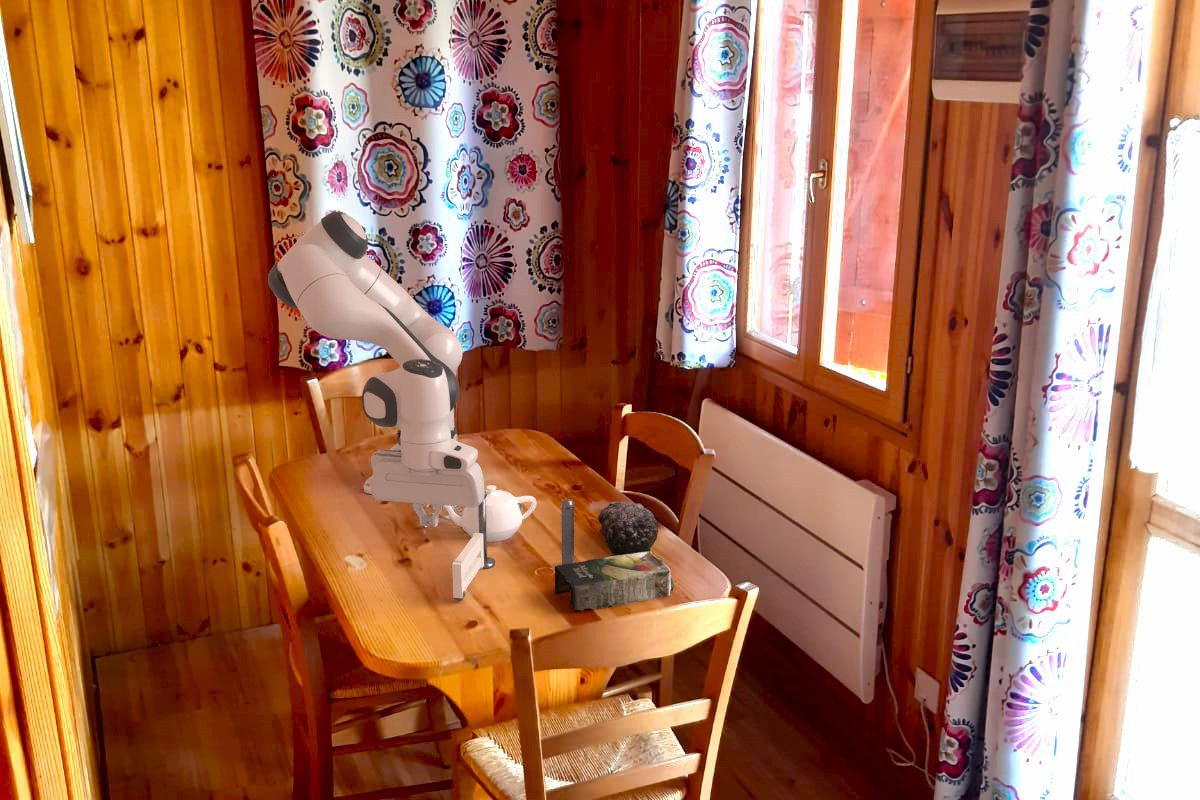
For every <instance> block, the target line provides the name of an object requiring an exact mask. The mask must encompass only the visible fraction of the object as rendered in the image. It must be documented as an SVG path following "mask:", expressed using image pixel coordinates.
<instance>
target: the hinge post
mask: <svg viewBox="0 0 1200 800" xmlns="http://www.w3.org/2000/svg"><path fill="white" fill-rule="evenodd" d="M486 497H487V493H486V491H485V496H484V499H483V501H482V502H481V503H480V504H479V505H478V517H479V533H483V546H484V566H483V568H482V569H481V570H489V569H492V568H493V567H495V565H496V559H494V558H493V557H490V556H488V545H487V544H488V542H487V536H486V501H485V498H486Z"/></svg>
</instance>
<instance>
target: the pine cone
mask: <svg viewBox="0 0 1200 800" xmlns="http://www.w3.org/2000/svg"><path fill="white" fill-rule="evenodd" d="M597 521H598V522H599V524H600V526H601V527H600V532H601V535H602V536H603V537H604V541H605V542H604V543H605V545H606V547H607V549H608V550H609V552H610V553H611V554H612V556H618V555H626V554H634V553H640V552H649V551H651V552H652V550H651V548H652V547H653V545H654V544H655V542H656V541H657V539H658V532H659V526H658V522H657V519H656V518H655V515H654V514H653V512H652V511H651V510H649V509H648V508H645V507H644V506H643V505H642V504H641V503H634V502H631V501H627V500H626V501H611V502H610V503H608V505H606V506H604V508H603V509H601V511H600V512H599V513H598V515H597Z"/></svg>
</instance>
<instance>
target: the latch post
mask: <svg viewBox="0 0 1200 800" xmlns="http://www.w3.org/2000/svg"><path fill="white" fill-rule="evenodd" d="M560 507H561V515H560V516H561V517H560V518H561V565H563V564H569V563H575V503H574V501H573V499H571V498H565V499H563V500H562V502H561V505H560Z"/></svg>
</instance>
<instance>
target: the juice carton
mask: <svg viewBox="0 0 1200 800" xmlns="http://www.w3.org/2000/svg"><path fill="white" fill-rule="evenodd" d="M674 588H675V585H674V580H673V579H672V578H671V569H670V568H669V566H668V565H667V564H665V563H664V561H663V560H662V559H661V558H660V557H659V558H658V557H657V556H656V555H655V554H653V553H652V550H651V551H649V552H640V553H634V554H626V555H618V556H614V555H612V556H606V557H600V558H592V559H591V558H590V559H587V560H583V561H578V562H574V563H569V564H563V565H562V564H558V565H557V566H554V593H555V594H556V595H558V593H559V592H565V591H570V600H569V603H570V605H571V607H572V609H573V611H574V612H575V613H577V611H581V612H583V611H584V610H585V609H590V610H594V611H595V610H597V609H602V608H603V609H608V608H610V607H611V608H612V607H618V606H622V605H623V606H624V605H629V604H633V603H637V602H642V601H644V602H645V601H647V600H648V601H649V600H655V599H660V598H665V597H670V596H671V593H672V591H674Z"/></svg>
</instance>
